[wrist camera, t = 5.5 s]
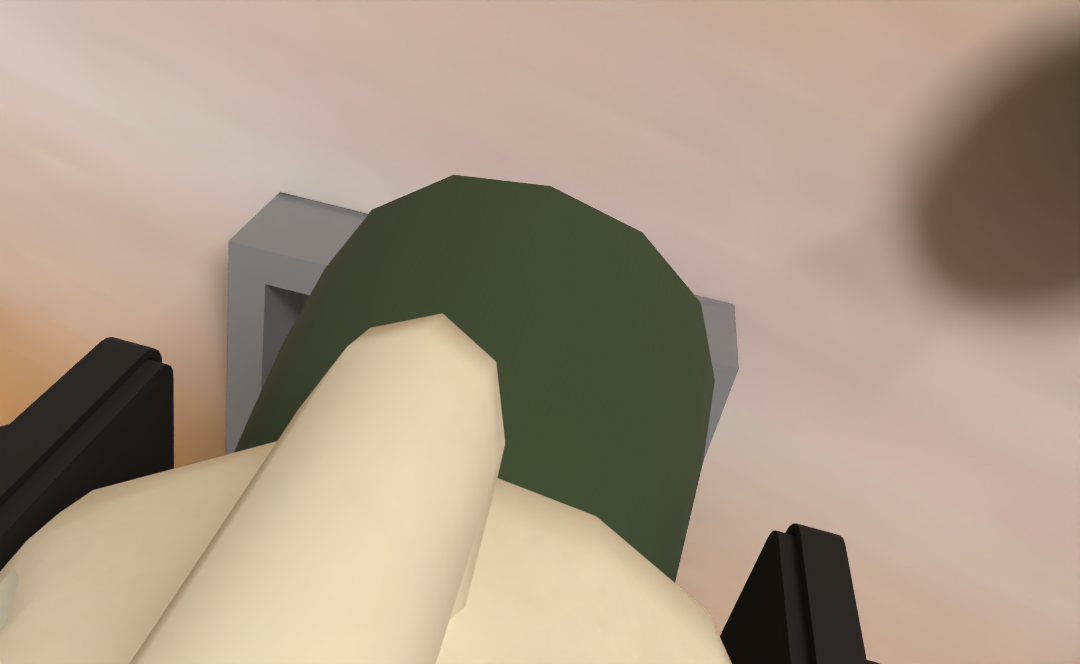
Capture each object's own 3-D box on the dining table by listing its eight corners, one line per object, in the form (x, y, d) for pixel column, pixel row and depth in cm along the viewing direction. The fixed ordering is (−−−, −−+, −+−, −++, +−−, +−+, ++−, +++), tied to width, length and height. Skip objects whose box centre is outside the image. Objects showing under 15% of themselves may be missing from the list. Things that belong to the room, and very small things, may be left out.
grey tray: (734, 304, 31) (738, 368, 27) (621, 617, 39) (613, 695, 36) (280, 192, 31) (228, 241, 28) (264, 525, 40) (224, 594, 36)
